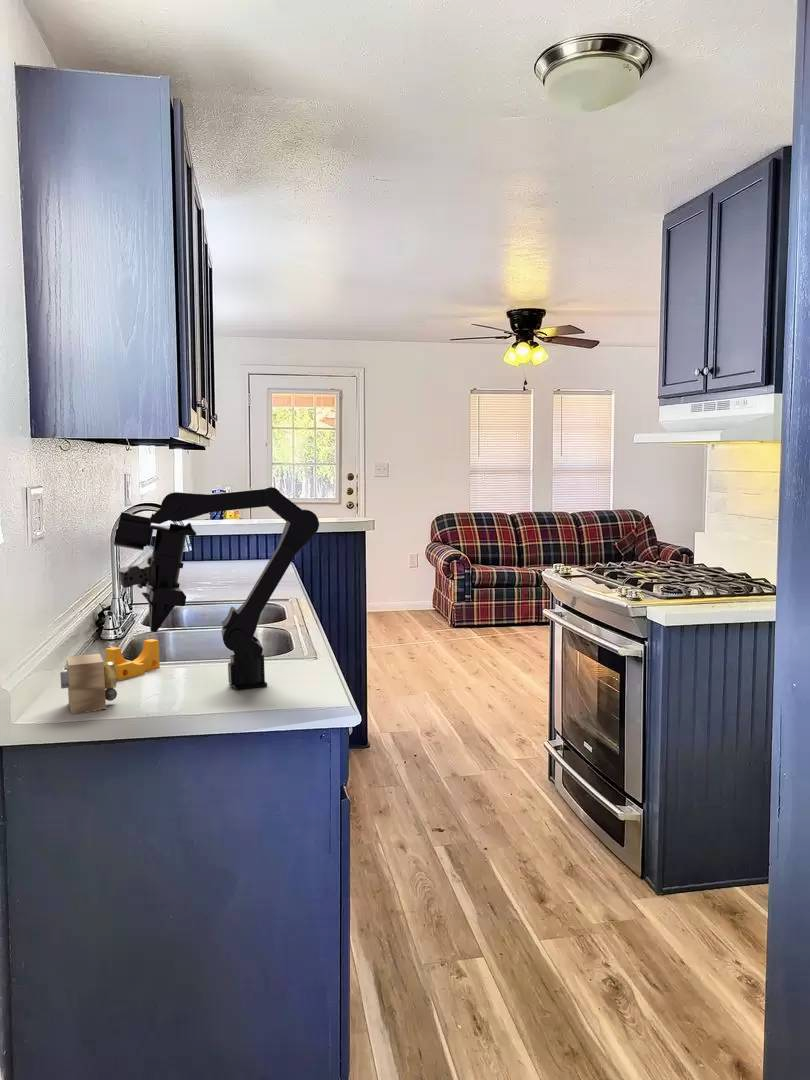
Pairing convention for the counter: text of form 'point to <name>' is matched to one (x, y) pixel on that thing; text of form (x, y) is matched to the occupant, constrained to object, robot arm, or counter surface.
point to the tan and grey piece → (108, 676)
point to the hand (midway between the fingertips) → (153, 631)
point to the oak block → (86, 683)
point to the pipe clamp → (137, 666)
